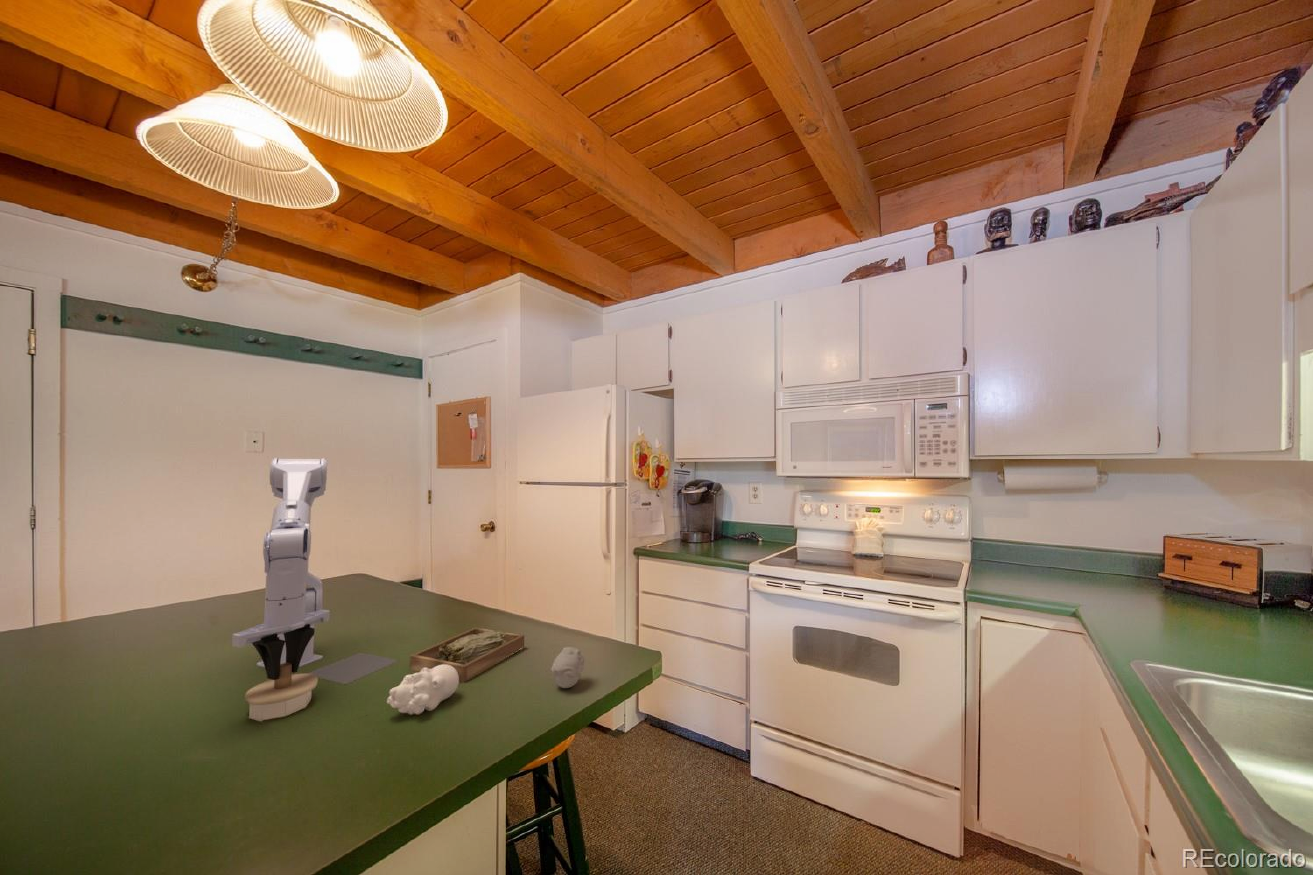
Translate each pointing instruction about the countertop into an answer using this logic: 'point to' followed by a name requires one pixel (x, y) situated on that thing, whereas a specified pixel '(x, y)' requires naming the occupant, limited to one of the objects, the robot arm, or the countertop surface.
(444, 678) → the figurine
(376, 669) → the mat
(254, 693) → the lid
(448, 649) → the dried leaf bundle
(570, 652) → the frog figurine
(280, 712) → the bowl
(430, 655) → the frame
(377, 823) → the countertop surface
